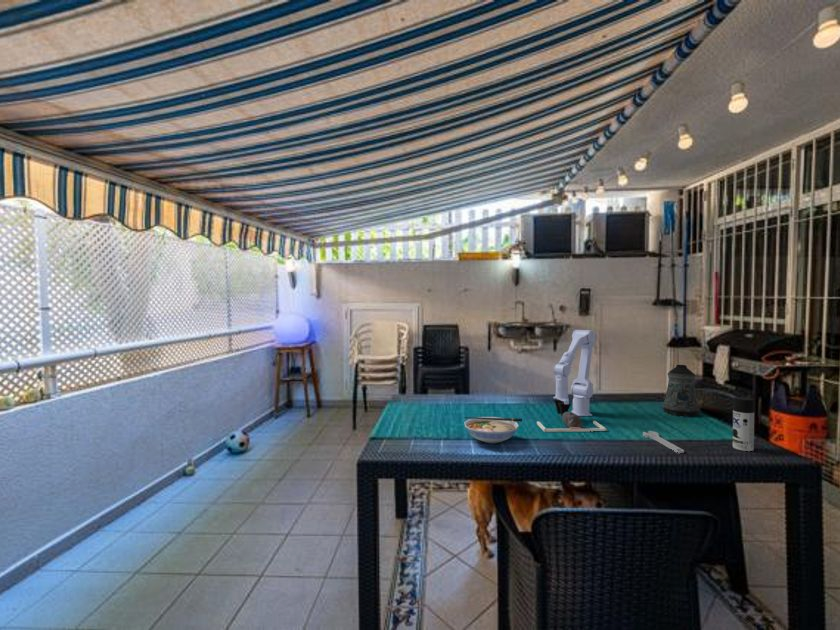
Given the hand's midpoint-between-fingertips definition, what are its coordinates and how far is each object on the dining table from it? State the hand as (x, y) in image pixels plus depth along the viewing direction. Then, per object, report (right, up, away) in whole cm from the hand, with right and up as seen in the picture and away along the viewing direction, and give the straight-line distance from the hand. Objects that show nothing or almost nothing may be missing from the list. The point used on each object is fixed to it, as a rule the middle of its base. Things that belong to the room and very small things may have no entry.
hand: (561, 415), depth 209 cm
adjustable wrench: (+29, -4, -35) cm, 46 cm away
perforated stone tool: (0, -3, -11) cm, 12 cm away
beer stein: (+66, -2, +12) cm, 67 cm away
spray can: (+57, -3, -43) cm, 71 cm away
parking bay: (0, -3, -12) cm, 13 cm away
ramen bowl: (-40, -4, -31) cm, 51 cm away
